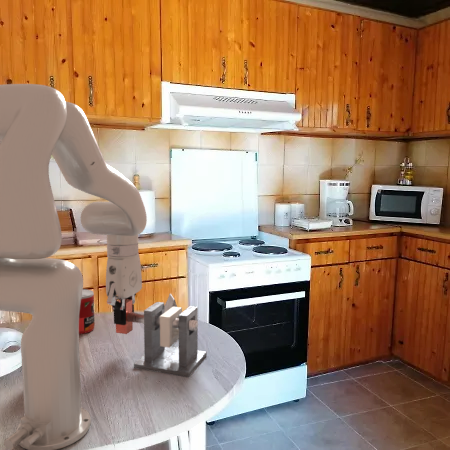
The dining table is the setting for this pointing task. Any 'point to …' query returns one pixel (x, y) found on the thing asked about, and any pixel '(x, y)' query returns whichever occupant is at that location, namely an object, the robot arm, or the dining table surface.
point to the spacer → (169, 327)
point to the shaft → (139, 318)
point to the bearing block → (174, 356)
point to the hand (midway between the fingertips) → (124, 320)
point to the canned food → (86, 312)
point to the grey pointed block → (170, 303)
